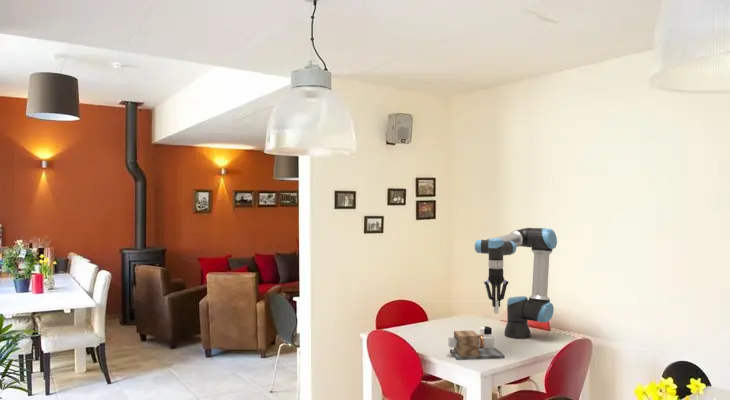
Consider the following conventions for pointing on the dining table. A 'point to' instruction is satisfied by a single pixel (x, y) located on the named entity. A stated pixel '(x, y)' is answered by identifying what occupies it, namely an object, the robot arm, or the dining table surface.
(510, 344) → the dining table surface
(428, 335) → the dining table surface
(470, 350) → the bearing block
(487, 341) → the medicine bottle
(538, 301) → the robot arm
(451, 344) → the shaft
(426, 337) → the dining table surface
